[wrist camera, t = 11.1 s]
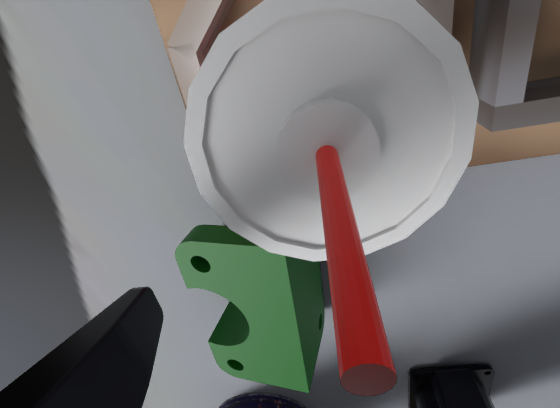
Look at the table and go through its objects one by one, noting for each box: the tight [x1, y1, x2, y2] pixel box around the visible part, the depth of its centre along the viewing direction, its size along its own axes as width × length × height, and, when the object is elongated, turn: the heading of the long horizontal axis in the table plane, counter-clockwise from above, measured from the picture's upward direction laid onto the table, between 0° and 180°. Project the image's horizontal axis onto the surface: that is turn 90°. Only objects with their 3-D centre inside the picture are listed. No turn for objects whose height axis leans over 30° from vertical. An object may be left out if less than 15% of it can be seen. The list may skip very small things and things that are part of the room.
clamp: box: [175, 225, 324, 393], centre depth 20 cm, size 12×6×9 cm, turn 3°
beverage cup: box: [184, 0, 479, 396], centre depth 9 cm, size 6×6×14 cm
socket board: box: [150, 0, 560, 167], centre depth 14 cm, size 12×22×4 cm, turn 101°
